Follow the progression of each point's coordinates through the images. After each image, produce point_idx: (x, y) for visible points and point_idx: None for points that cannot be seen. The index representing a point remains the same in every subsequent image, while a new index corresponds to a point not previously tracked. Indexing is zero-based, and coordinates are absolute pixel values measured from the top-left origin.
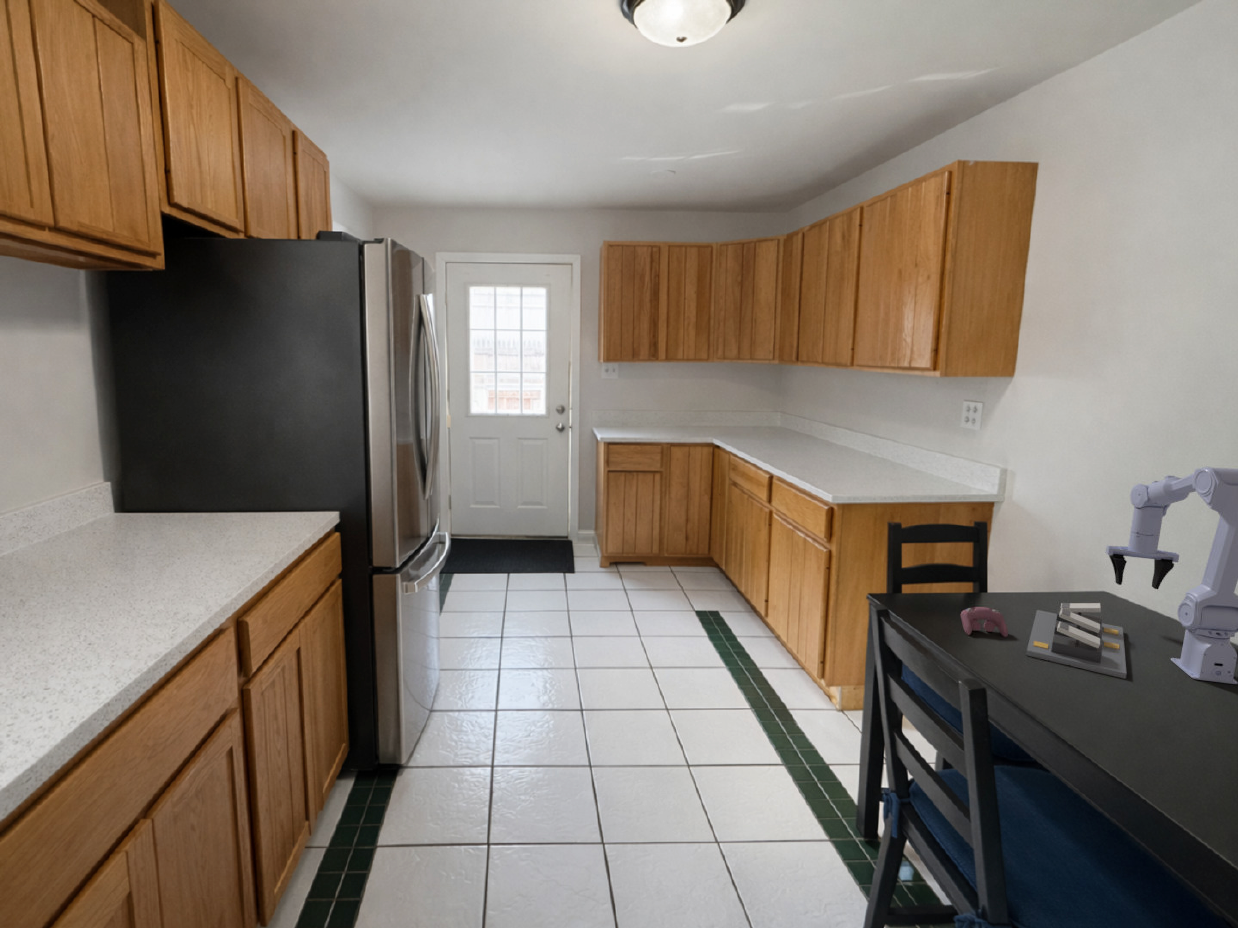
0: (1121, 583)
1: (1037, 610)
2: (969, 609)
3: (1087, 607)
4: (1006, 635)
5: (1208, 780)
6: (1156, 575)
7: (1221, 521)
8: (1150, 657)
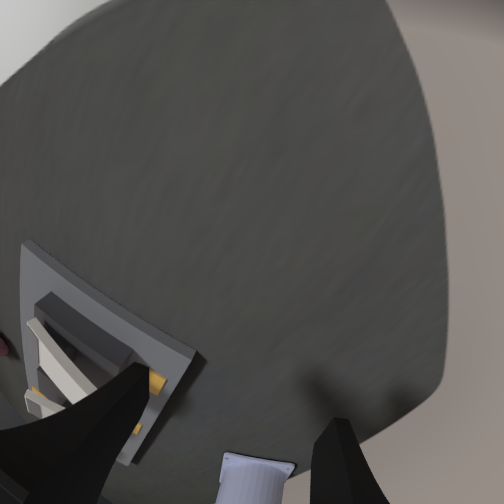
0: (144, 406)
1: (22, 248)
2: None
3: (65, 393)
4: (7, 353)
5: None
6: (326, 501)
7: None
8: (194, 440)
